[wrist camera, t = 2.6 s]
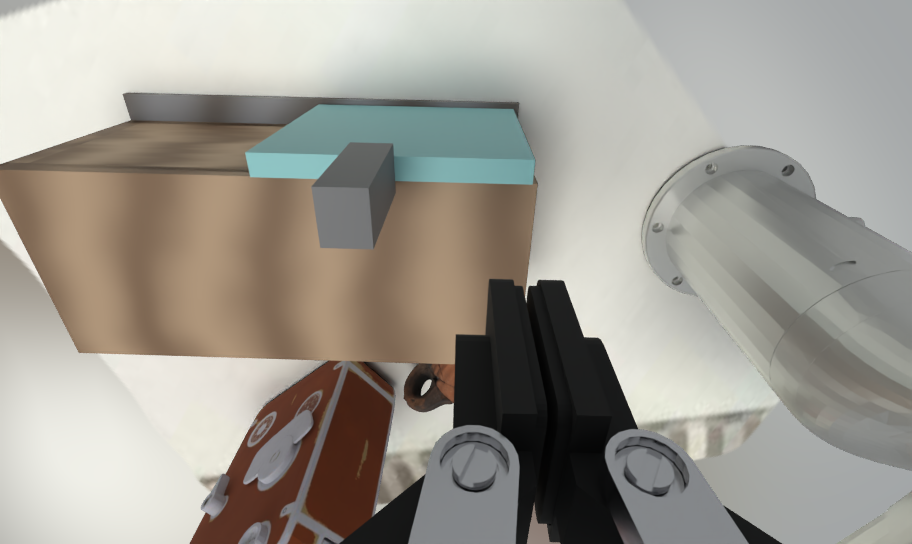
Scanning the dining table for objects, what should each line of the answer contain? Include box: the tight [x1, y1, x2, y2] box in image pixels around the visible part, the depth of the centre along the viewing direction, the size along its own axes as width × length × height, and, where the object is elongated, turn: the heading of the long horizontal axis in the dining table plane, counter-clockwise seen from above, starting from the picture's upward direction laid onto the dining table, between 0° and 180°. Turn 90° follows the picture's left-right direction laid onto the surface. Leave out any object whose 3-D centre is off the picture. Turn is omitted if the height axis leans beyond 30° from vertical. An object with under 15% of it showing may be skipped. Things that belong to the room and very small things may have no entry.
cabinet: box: [0, 93, 538, 364], centre depth 31 cm, size 28×14×12 cm, turn 89°
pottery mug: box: [404, 363, 455, 412], centre depth 42 cm, size 12×10×8 cm
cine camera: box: [190, 361, 395, 544], centre depth 39 cm, size 9×19×20 cm, turn 129°
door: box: [245, 104, 535, 249], centre depth 24 cm, size 14×2×18 cm, turn 89°
